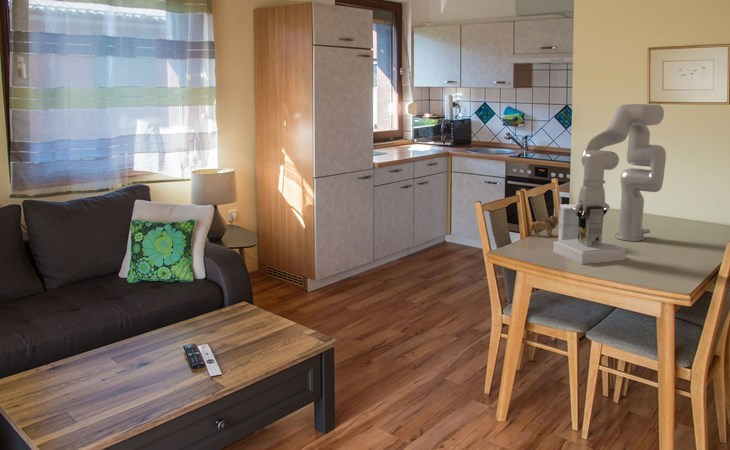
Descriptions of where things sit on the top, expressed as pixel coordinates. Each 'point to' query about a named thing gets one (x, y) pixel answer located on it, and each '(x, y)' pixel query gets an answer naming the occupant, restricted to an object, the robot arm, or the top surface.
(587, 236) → the coffee box
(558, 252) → the square tray
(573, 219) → the supplement box
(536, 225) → the lion figurine
